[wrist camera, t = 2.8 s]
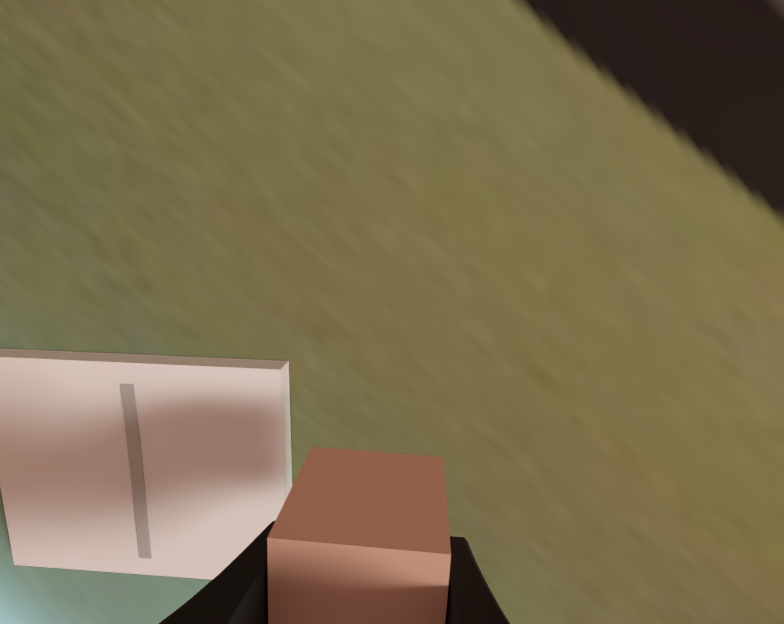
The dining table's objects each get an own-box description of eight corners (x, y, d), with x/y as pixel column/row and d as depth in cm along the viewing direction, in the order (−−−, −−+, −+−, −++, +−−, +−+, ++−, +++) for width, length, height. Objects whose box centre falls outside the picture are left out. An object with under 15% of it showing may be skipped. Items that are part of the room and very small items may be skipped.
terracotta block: (434, 571, 14) (438, 704, 10) (310, 560, 15) (268, 685, 11) (443, 457, 14) (451, 554, 10) (311, 447, 14) (267, 537, 10)
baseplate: (294, 566, 23) (287, 586, 22) (34, 547, 24) (12, 565, 23) (288, 360, 21) (279, 370, 19) (0, 348, 22) (-25, 356, 20)
